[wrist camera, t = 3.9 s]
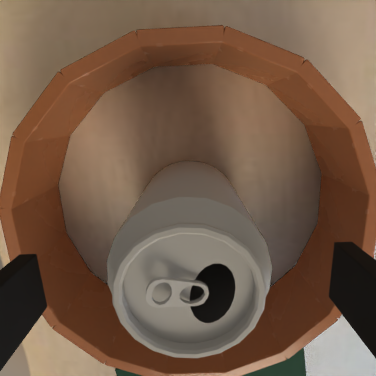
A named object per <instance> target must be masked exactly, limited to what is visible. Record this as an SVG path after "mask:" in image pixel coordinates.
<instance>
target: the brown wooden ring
mask: <svg viewBox="0 0 376 376" xmlns="http://www.w3.org/2000/svg"><path fill="white" fill-rule="evenodd" d="M136 33H137V34H136ZM201 64H214V65H217V66H219V67H222V68H224V69H227V70H229V71H232V72H234V73H237V74H239V75H242V76H245V77H247V78H250V79H252V80H255V81H257V82H260V83H262V84H265V85H267V86H268V88H269V89H270V90H271V91H272V92H273V93H274V94H275V95H276V96H277V97H278V98H279V99H280V100H281V101H282V102H283V103H284V104H285V105H286V106H287V107H288V108H289V109H290V110H291V111H292V112H293V114H294V115H295V116H296V117H297V118H298V119H299V120H300V121H301V122H302V123H303V124H304V125H305V128H306V131H307V133H308V136H309V139H310V142H311V145H312V148H313V151H314V153H315V156H316V159H317V162H318V165H319V168H320V171H321V174H322V177H321V189H320V201H319V213H318V224H317V225H316V227H315V229H314V231H313V233H312V235H311V237H310V239H309V241H308V243H307V245H306V246H305V248H304V250H303V252H302V254H301V256H300V258H299V260H298V262H297V264H296V266H294V267H293V268H292V269H291V270H290V271H289V272H288V273H286V274H285V275H284V276H283V277H282V278H281V279H280V280H278V281H277V282H276V283H275V284H274V285H273V286H272V287H270V288H269V292H268V294H267V296H266V299H265V307H264V311H263V313H262V315H261V316H260V318H259V320H258V322H257V324H256V326H255V328H254V329H253V330H252V331H251V332H250V333H249V334H248V335H247V336H246V337H245V338H244V339H243V340H242V341H241V342H240V343H238V344H236V345H235V346H233V347H231V348H229V349H227V350H225V351H223V352H221V353H219V354H215V355H210V356H205V357H201V358H177V357H172V356H168V355H165V354H162V353H159V352H155V351H153V350H151V349H149V348H148V347H146V346H145V345H143V344H142V343H140V342H138V341H137V340H135V339H134V338H133V337H132V336H131V334H130V333H129V332H128V331H127V330H126V329H125V327H124V326H123V325H122V324H121V323H120V320H119V318H118V316H117V313H116V311H115V308H114V306H113V302H112V293H111V291H110V288H109V286H108V285H107V284H105V283H104V282H103V281H101V280H100V279H99V278H97V277H96V276H95V275H93V274H92V273H91V272H90V270H89V269H88V267H87V265H86V264H85V262H84V261H83V259H82V257H81V256H80V254H79V253H78V251H77V249H76V248H75V246H74V245H73V243H72V241H71V240H70V238H69V237H68V235H67V233H66V228H65V223H64V217H63V211H62V205H61V199H60V193H59V188H58V183H59V179H60V175H61V171H62V167H63V163H64V159H65V155H66V150H67V146H68V142H69V138H70V135H71V134H72V132H73V131H74V130H75V129H76V127H77V126H78V125H79V124H80V122H81V121H82V120H83V119H84V117H85V116H86V115H87V113H88V112H89V111H90V110H91V108H92V107H93V106H94V105H95V103H96V102H97V101H98V100H99V98H100V97H101V96H102V94H103V93H104V92H106V91H108V90H110V89H112V88H114V87H116V86H118V85H120V84H122V83H124V82H126V81H128V80H130V79H132V78H134V77H136V76H138V75H139V74H141V73H143V72H145V71H147V70H149V69H151V68H153V67H160V66H180V65H201ZM360 119H361V118H360V117H359V116H358V115H357V114H356V112H355V111H354V110H353V109H352V108H351V107H350V106H349V105H348V104H347V103H346V101H345V100H344V99H343V98H342V97H341V96H340V95H339V94H338V93H337V91H336V90H335V89H334V88H333V87H332V86H331V85H330V84H329V83H328V82H327V80H326V79H325V78H324V77H323V76H322V75H321V74H320V73H319V72H318V71H317V69H316V68H315V67H314V66H313V65H312V64H311V63H310V62H309V61H308V60H304V57H301V56H299V55H296V54H294V53H292V52H289V51H287V50H284V49H282V48H279V47H277V46H274V45H272V44H270V43H267V42H265V41H262V40H260V39H257V38H255V37H252V36H250V35H248V34H245V33H243V32H240V31H238V30H235V29H233V28H230V27H228V26H226V27H225V28H224V26H223V25H216V26H197V27H178V28H158V29H139V30H137V31H136V32H135V31H132V32H130V33H128V34H126V35H124V36H122V37H121V38H119V39H117V40H115V41H113V42H111V43H109V44H108V45H106V46H104V47H102V48H100V49H98V50H96V51H94V52H93V53H91V54H89V55H87V56H85V57H83V58H81V59H80V60H78V61H76V62H74V63H72V64H70V65H68V66H67V67H65V68H63V69H61V72H57V74H56V75H55V76H54V78H53V79H52V81H51V82H50V83H49V85H48V86H47V87H46V89H45V90H44V91H43V93H42V94H41V96H40V97H39V98H38V100H37V101H36V102H35V104H34V105H33V106H32V108H31V109H30V111H29V112H28V113H27V115H26V116H25V117H24V119H23V120H22V121H21V123H20V124H19V126H18V127H17V128H16V130H15V131H14V132H13V135H14V136H12V137H11V141H10V147H9V152H8V157H7V162H6V167H5V172H4V178H3V183H2V188H1V193H0V219H1V224H2V228H3V232H4V237H5V241H6V245H7V249H8V254H9V258H10V262H11V261H12V260H13V259H14V258H16V257H17V256H18V255H19V254H37V259H38V264H39V269H40V273H41V278H42V283H43V288H44V292H45V297H46V302H47V308H46V309H45V311H44V312H43V314H42V315H43V317H44V318H45V319H46V321H47V322H48V324H49V325H50V326H51V327H52V326H53V328H52V329H53V330H55V331H56V332H58V333H59V334H61V335H62V336H64V337H65V338H66V339H68V340H69V341H71V342H72V343H74V344H75V345H77V346H78V347H79V348H81V349H82V350H84V351H85V352H87V353H88V354H90V355H91V356H92V357H94V358H95V359H97V360H98V361H100V362H101V363H103V364H104V363H105V365H108V366H111V367H115V368H118V369H121V370H125V371H128V372H132V373H135V374H139V375H142V376H242V375H245V374H248V373H251V372H254V371H256V370H259V369H262V368H265V367H268V366H271V365H273V364H276V363H279V362H282V361H285V360H287V358H288V359H289V358H290V357H292V356H293V355H294V354H296V353H297V352H298V351H299V350H301V349H302V348H303V347H304V346H306V345H307V344H308V343H309V342H311V341H312V340H313V339H315V338H316V337H317V336H318V335H320V334H321V333H322V332H323V331H325V330H326V329H327V328H329V327H330V326H331V325H332V324H334V323H335V322H336V321H337V320H338V319H337V318H340V316H341V314H342V313H341V312H340V311H339V310H338V308H337V307H336V306H335V304H334V303H333V302H332V300H331V299H330V298H329V288H330V278H331V269H332V259H333V250H334V242H353V243H354V244H356V245H357V246H358V247H360V248H361V249H362V250H363V251H365V252H366V253H367V254H368V255H370V256H371V257H372V258H374V252H375V245H376V167H375V163H374V160H373V157H372V153H371V150H370V147H369V143H368V140H367V136H366V133H365V130H364V126H363V123H362V121H359V120H360Z"/></svg>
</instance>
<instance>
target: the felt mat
mask: <svg viewBox="0 0 376 376" xmlns="http://www.w3.org/2000/svg"><path fill="white" fill-rule="evenodd" d="M115 371H116V374H117V376H142V375H139V374H135V373H132V372H128V371H125V370H121V369H118V368H116V369H115ZM242 376H306V369H305V359H304V348H302V349H301V350H299V351H298V352H297V353H296V354H294V355H293V356H292V357H290V358H289V359H288V358H287V360H285V361H282V362H279V363H276V364H273V365H271V366H268V367H265V368H262V369H259V370H256V371H254V372H251V373H248V374H245V375H242Z"/></svg>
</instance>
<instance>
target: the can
mask: <svg viewBox="0 0 376 376" xmlns="http://www.w3.org/2000/svg"><path fill="white" fill-rule="evenodd" d="M271 273H272V264H271V260H270V255H269V251H268V247H267V243H266V242H265V240H264V238H263V237H262V235H261V233H260V232H259V230H258V228H257V227H256V225H255V223H254V222H253V220H252V218H251V217H250V215H249V213H248V212H247V210H246V208H245V207H244V205H243V203H242V201H241V200H240V198H239V196H238V195H237V193H236V191H235V190H234V188H233V187H232V185H231V183H230V182H229V180H228V179H227V177H226V176H225V175H224V174H222V173H221V172H220V171H219V170H217V169H216V168H215V167H213V166H210V165H207V164H205V163H202V162H199V161H182V162H178V163H175V164H171V165H168V166H167V167H165V168H164V169H162V170H161V171H159V172H158V173H156V174H155V176H154V177H153V178H152V180H151V181H150V182H149V184H148V185H147V186H146V188H145V190H144V191H143V193H142V194H141V196H140V198H139V199H138V201H137V202H136V204H135V206H134V207H133V209H132V210H131V212H130V214H129V215H128V217H127V219H126V220H125V222H124V223H123V225H122V227H121V228H120V230H119V231H118V233H117V235H116V236H115V238H114V240H113V243H112V246H111V250H110V253H109V256H108V259H107V277H108V286H109V288H110V291H111V293H112V302H113V306H114V308H115V311H116V313H117V316H118V318H119V320H120V323H121V324H122V325H123V326H124V327H125V329H126V330H127V331H128V332H129V333H130V334H131V336H132V337H133V338H134V339H135V340H137V341H138V342H140V343H142V344H143V345H145V346H146V347H148V348H149V349H151V350H153V351H155V352H159V353H162V354H165V355H168V356H172V357H177V358H201V357H205V356H210V355H215V354H219V353H221V352H223V351H225V350H227V349H229V348H231V347H233V346H235V345H236V344H238V343H240V342H241V341H242V340H243V339H244V338H245V337H246V336H247V335H248V334H249V333H250V332H251V331H252V330H253V329H254V328H255V326H256V324H257V322H258V320H259V318H260V316H261V315H262V313H263V311H264V307H265V299H266V296H267V294H268V292H269V288H270V281H271Z"/></svg>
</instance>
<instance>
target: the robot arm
mask: <svg viewBox="0 0 376 376" xmlns="http://www.w3.org/2000/svg"><path fill="white" fill-rule="evenodd" d="M329 298H330V299H331V300H332V302H333V303H334V304H335V306H336V307H337V308H338V310H339V311H340V312H341V313H342V315H343V316H344V317H345V319H346V320H347V321H348V323H349V324H350V325H351V327H352V328H353V329H354V330H355V332H356V333H357V334H358V336H359V337H360V338H361V340H362V341H363V342H364V343H365V345H366V346H367V347H368V349H369V350H370V351H371V353H372V354H373V355H374V357H375V358H376V260H375V259H374V258H372V257H371V256H370V255H368V254H367V253H366V252H365V251H363V250H362V249H361V248H360V247H358V246H357V245H356V244H354V243H353V242H334V250H333V259H332V269H331V278H330V288H329ZM46 308H47V302H46V297H45V292H44V288H43V283H42V278H41V273H40V269H39V264H38V259H37V254H19V255H18V256H17V257H16V258H14V259H13V260H12V261H11V262H10V263H8V264H7V265H6V266H5V267H4V268H2V269H1V270H0V371H1V370H2V368H3V367H4V365H5V364H6V363H7V361H8V360H9V359H10V357H11V356H12V354H13V353H14V352H15V350H16V349H17V348H18V346H19V345H20V344H21V342H22V341H23V339H24V338H25V337H26V335H27V334H28V333H29V331H30V330H31V329H32V327H33V326H34V324H35V323H36V322H37V320H38V319H39V318H40V316H41V315H42V314H43V312H44V311H45V309H46Z"/></svg>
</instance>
